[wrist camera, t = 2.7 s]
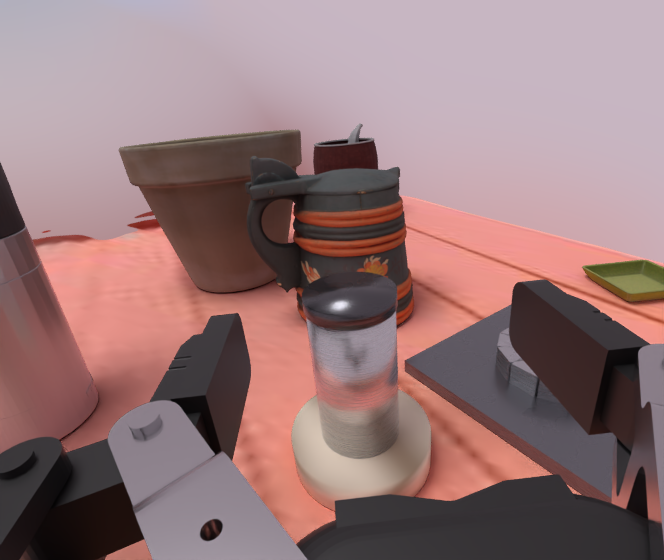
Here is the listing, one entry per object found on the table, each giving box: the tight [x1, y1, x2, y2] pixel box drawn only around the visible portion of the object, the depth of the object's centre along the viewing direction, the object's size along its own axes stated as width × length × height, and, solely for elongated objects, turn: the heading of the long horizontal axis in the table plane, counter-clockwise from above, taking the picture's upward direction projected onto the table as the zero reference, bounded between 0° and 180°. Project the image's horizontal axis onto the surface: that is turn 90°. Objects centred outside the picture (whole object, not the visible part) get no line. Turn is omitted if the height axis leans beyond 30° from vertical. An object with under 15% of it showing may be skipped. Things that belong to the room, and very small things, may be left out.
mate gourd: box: [313, 124, 378, 175], centre depth 85 cm, size 16×14×20 cm
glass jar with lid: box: [302, 272, 399, 459], centre depth 25 cm, size 6×6×11 cm
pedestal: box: [291, 389, 431, 511], centre depth 28 cm, size 10×10×2 cm
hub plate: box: [405, 304, 616, 503], centre depth 33 cm, size 18×18×3 cm
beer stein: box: [245, 156, 414, 326], centre depth 45 cm, size 19×15×20 cm
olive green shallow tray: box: [582, 260, 664, 302], centre depth 47 cm, size 9×9×2 cm
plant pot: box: [119, 130, 302, 292], centre depth 59 cm, size 25×25×22 cm
